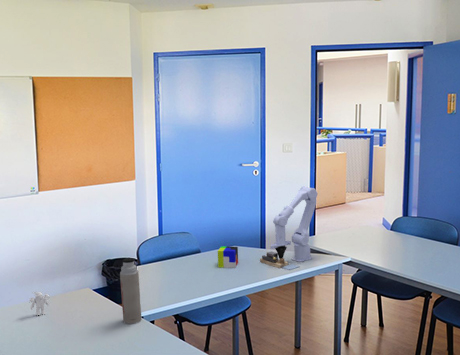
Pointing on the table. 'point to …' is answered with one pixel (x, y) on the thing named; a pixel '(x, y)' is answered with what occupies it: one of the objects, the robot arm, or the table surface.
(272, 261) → the lever
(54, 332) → the table surface
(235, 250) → the puzzle toy
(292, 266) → the mat
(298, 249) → the robot arm
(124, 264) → the thermos bottle
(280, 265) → the plane body
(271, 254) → the lever cap
